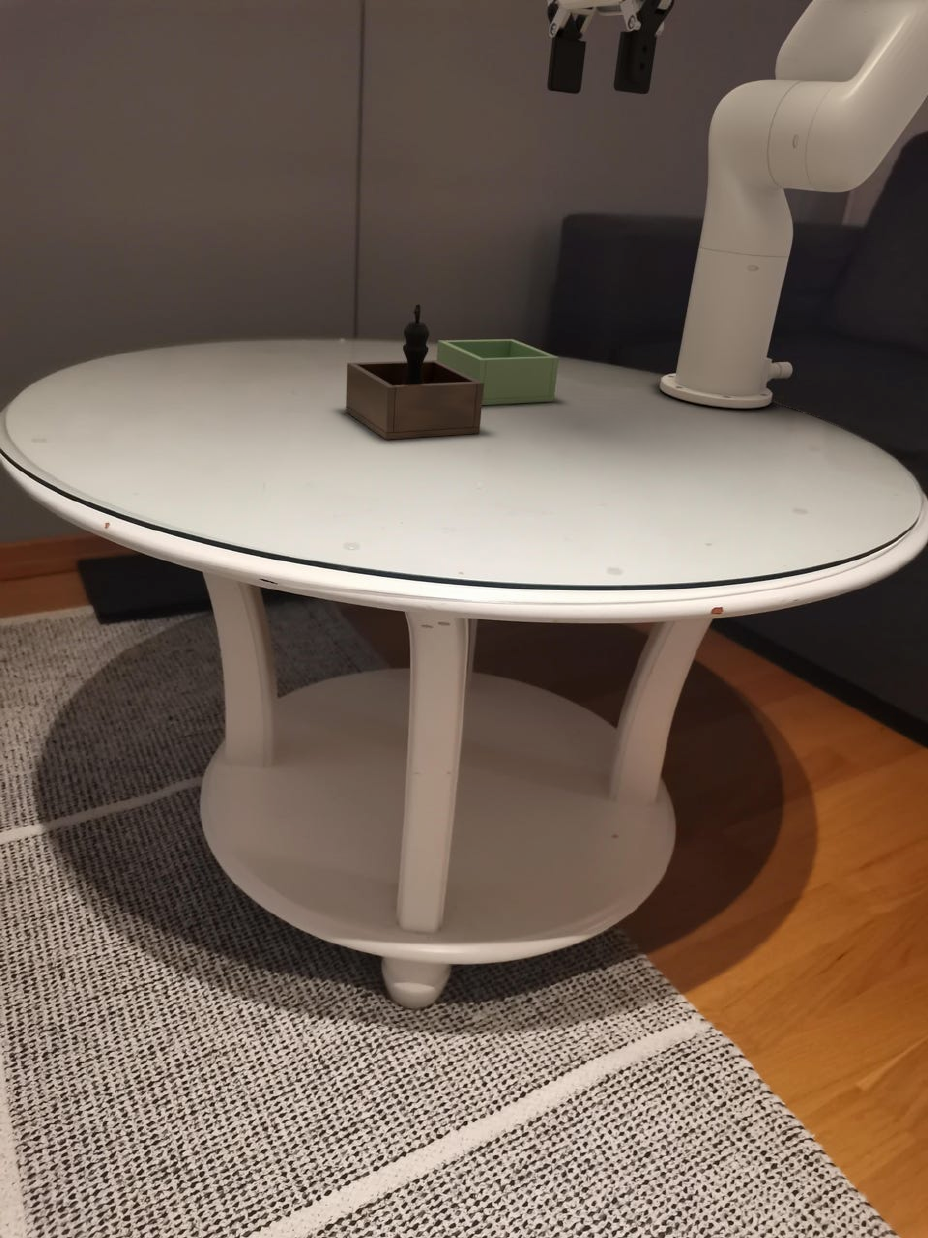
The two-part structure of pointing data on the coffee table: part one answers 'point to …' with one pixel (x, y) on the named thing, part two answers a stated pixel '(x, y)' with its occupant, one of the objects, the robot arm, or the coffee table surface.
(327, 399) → the coffee table surface
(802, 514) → the coffee table surface
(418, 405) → the dark bin
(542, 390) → the light bin
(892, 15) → the robot arm
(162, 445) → the coffee table surface
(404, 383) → the chess piece
